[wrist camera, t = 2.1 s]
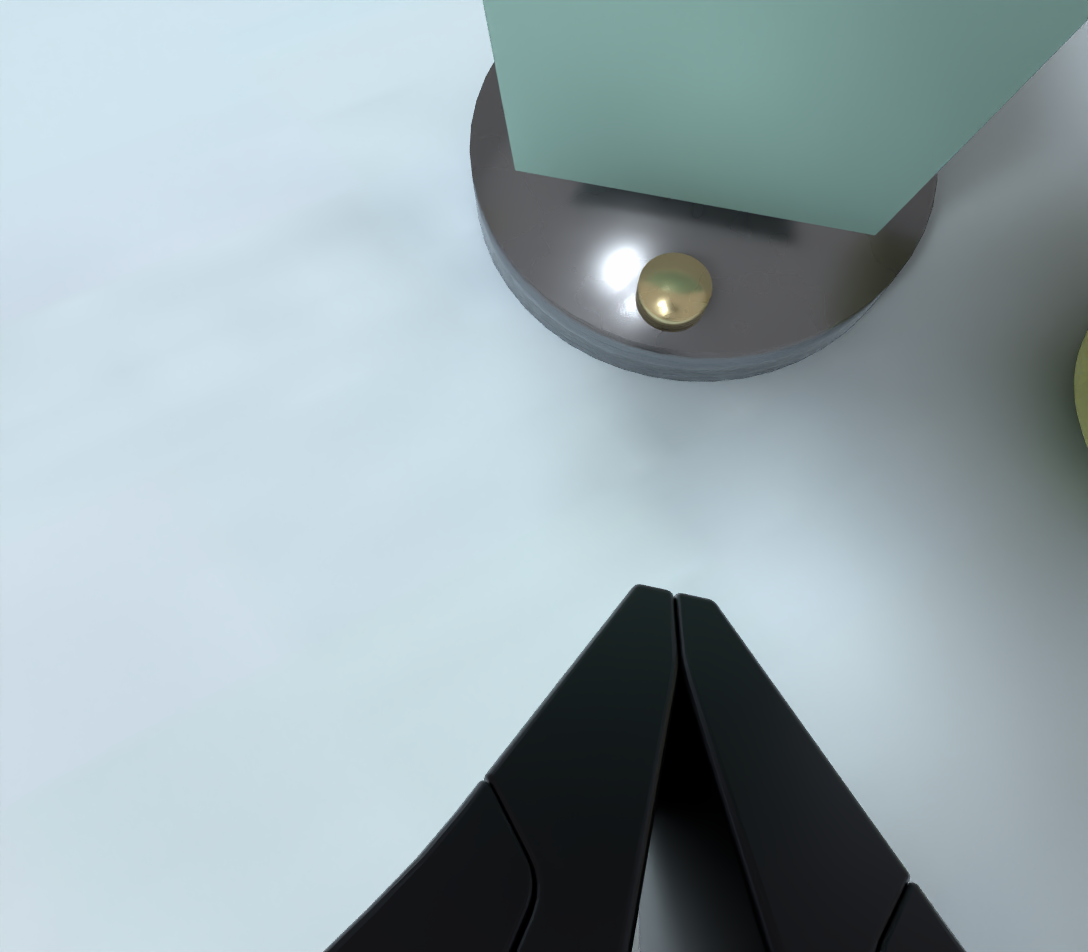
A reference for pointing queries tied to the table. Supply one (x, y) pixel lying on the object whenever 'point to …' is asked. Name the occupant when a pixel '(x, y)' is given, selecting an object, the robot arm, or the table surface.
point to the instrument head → (764, 94)
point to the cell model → (1082, 387)
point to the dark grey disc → (675, 267)
